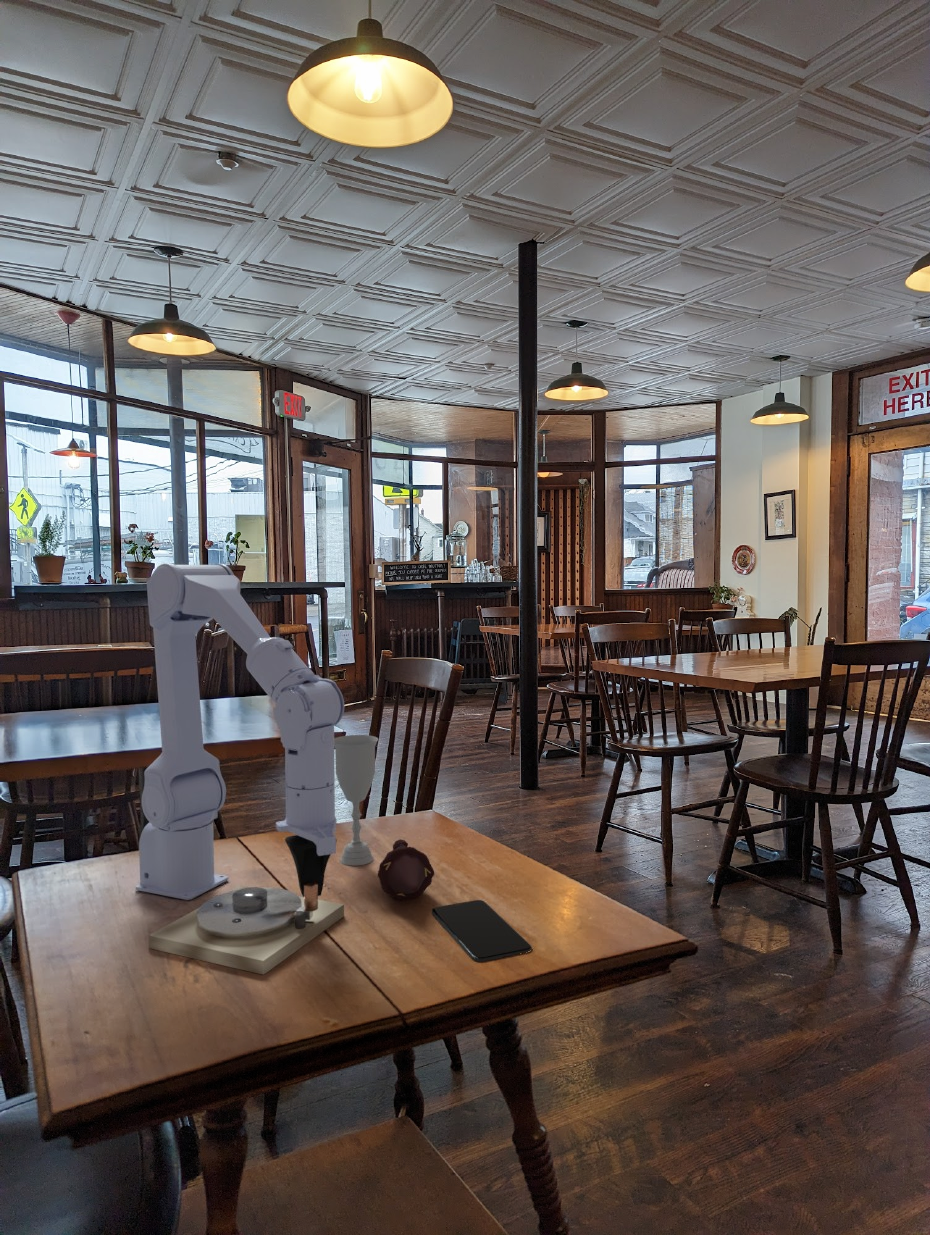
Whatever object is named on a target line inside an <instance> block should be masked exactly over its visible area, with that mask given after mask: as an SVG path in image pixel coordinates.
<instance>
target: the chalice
mask: <svg viewBox="0 0 930 1235" xmlns="http://www.w3.org/2000/svg"><path fill="white" fill-rule="evenodd" d="M378 741H379V738H378V737H376V736H374V735H366V734H351V735H350V734H349V735H342V736H338V737H334V758H335V775H336V779H337V781H338V784H339V787H340V789H341V791H342V793H343V795H344V796H345V799H346V801H348V802H350V803H352V812H351V813H350V816H351V818H352V821H353V822H352V824H351V826H350V829H351V830H352V833H353V836H352V839H351V842H348V843H346V844H345V846H344V847H343V851H342V852H341V853H342V854H341V856H340V859H339V862H340V863H341V864H343V865H345V866H353V867H354V866H363V865H368V864H370V863H371V862H373V861H374V860H375V859H374V858H375V857H374V856H373V854H372V850H371V849H370V845H368V843H367V842H365V841H362V839H361V837H360V833H361V830H362V828H363V826H362V825H361V824H360V819H361V816H362V813H361V811H360V810H361V809H360V803H361V802H363V801H365V799H366V797H367V795H368V793H369V791H370V788H371V786H372V783H373V781H374V778H375V774H376V745H377V742H378Z"/></svg>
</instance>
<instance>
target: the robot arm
mask: <svg viewBox="0 0 930 1235" xmlns="http://www.w3.org/2000/svg"><path fill="white" fill-rule="evenodd" d="M146 590H147V592H146V593H147V604H148V606H147V607H148V618H149V619H148V620H149V626H150V627H152V629H153V645H154V657H155V671H156V683H157V684H156V685H157V697H158V698H157V699H158V712H159V713H158V714H159V726H160V738H161V739H160V740H161V751H162V752H161V753H160V755H159V756H158V757H156V759H154V761H153V762H152V763H151V764H150V765H149V766H148V767H147V768H146V769H145V770H144V773H143V774H144V784H143V785H144V786H143V790H142V795H141V808H142V811H143V814H144V816H145V819H147V821H148V823H147V824H146V825H145V826H144V828H143V829H142V832H141V834H140V837H139V842H138V851H139V852H138V856H139V857H138V858H139V859H138V860H139V881H140V882H139V884H137V885H136V886H135V891H140V892H144V893H151V894H155V895H160V896H165V897H170V898H176V899H181V900H184V901H185V900H186V901H190V900H193V899H195V898H197V897H198V896H200V895H203V894H204V893H206V892H207V891H209V890H213V889H214V888H215V887H218V886H219V885H222V884H223V883H225V882H227V881H229V876H228V875H223V874H219V873H218V874H216V873H215V852H214V851H215V848H214V846H215V845H214V820H215V819H218V817H219V816H218V814H219V813H218V811H219V810H221V809H222V807H224V805H225V802H226V797H227V787H226V783H225V780H224V779H223V776H222V773H221V769H220V760H219V759H218V758H217V757H215V756H214V755H213V754H211V753H209V752H208V751H207V750H206V749H204V739H203V736H204V735H203V725H202V723H203V722H202V712H201V696H200V695H201V694H200V683H199V681H200V680H199V667H198V656H197V641H196V635H197V634H198V632H200V630H201V629H202V627H203V626H204V625H205V624H208V623H209V622H210V621H212V620H213V619H214V621H215V622H216V623H217V624H218V625H219V626H220V627H221V628H222V630H224V631H225V632H226V633H227V635H228V636H230V637H231V639H233V641H235V643H236V644H237V645H238V646H239V647H240V648H241V649H242V650H243V651H244V652H245V654H246V655H247V656H246V659H245V666H246V669H247V671H248V672H249V673H250V674H251V676H252V677H253V678H254V680H255V681H256V682H257V683H258V684H259V686H260V687H261V688H262V690H263V691H264V692H265V693H266V695H268V697H269V698H270V700H271V701H272V702H273V704H274V705H275V706H273V708H272V710H273V711H272V713H273V717H274V720H275V723H276V725H277V727H278V729H279V732H280V743H282V747H283V748H284V749H285V750H284V755H285V758H284V760H285V761H284V763H285V764H284V765H285V769H284V770H285V818H284V820H282V821H281V820H280V821H276V822H275V829H276V830H277V832H278V833H279V832H281V833H283V832H289V833H291V834H294V835H289V836H287V837H285V839H284V841H285V843H286V845H287V847H288V849H289V851H290V853H291V856H292V859H293V862H294V865H295V868H296V875H297V880H298V885H299V890H300V894H301V897H304V884H305V883H308V882H316V883H318V897H320V896H322V892H323V889H324V882H325V881H324V880H325V872H326V869H327V865H328V863H329V859H330V857H331V855H335V854H337V843H338V842H337V837H336V835H335V834H336V829H337V821H338V820H337V817H336V811H335V810H336V809H335V808H336V803H335V802H336V801H335V798H336V795H335V790H336V789H335V787H336V786H335V780H336V779H335V778H336V777H335V775H336V774H335V747H334V738H335V726H336V725H337V724H339V723H340V721H341V720H342V718H343V716H344V713H345V700H344V696H343V693H342V691H341V690H340V688H339V687H338V685H337V683H336V682H335V681H334V680H332V679H329V678H322V677H321V676H320V675H318V674H315V672H313V671H312V669H310V668H309V667H308V666H307V664H305V662H304V660H302V659H301V657H300V656H299V655H298V654H297V653H296V652H295V651H294V649H293V648H294V646H293V644H292V643H291V642H290V641H289V640H288V639H287V640H286V639H285V638H283V637H278V636H277V637H275V636H273V637H270V634H269V632H268V631H267V630H266V629H265V627H264V625H262V623H261V622H260V620H259V618H258V617H257V616H256V615H255V613H254V611H253V610H252V609H251V607H250V606H249V604H248V602H246V600H245V599H244V598H243V596H242V594H241V581H240V579H239V578H238V576H236V575H234V572H233V571H232V569H231V568H230V567H229V566H228V565H227V564H223V563H216V564H172V563H162V564H160V565H158V566H157V567H156V568H155V570H154V571H153V572H152V574H151V576H150V577H149V578H148V579H147V582H146Z"/></svg>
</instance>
